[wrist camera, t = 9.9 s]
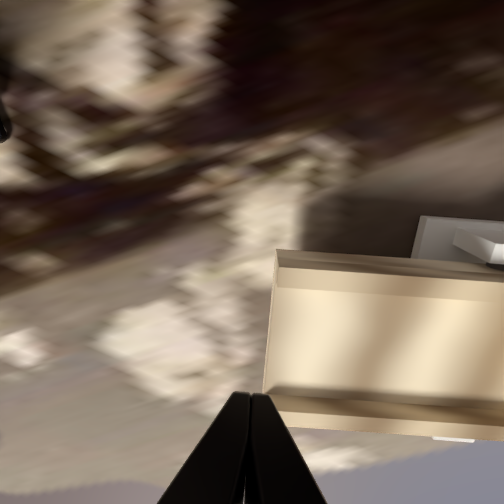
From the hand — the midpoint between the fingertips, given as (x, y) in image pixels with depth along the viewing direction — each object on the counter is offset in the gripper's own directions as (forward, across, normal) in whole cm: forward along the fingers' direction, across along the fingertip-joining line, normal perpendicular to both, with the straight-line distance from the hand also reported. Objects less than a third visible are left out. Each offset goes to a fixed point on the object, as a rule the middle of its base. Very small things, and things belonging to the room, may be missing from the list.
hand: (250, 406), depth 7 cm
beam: (+10, -12, +4) cm, 17 cm away
